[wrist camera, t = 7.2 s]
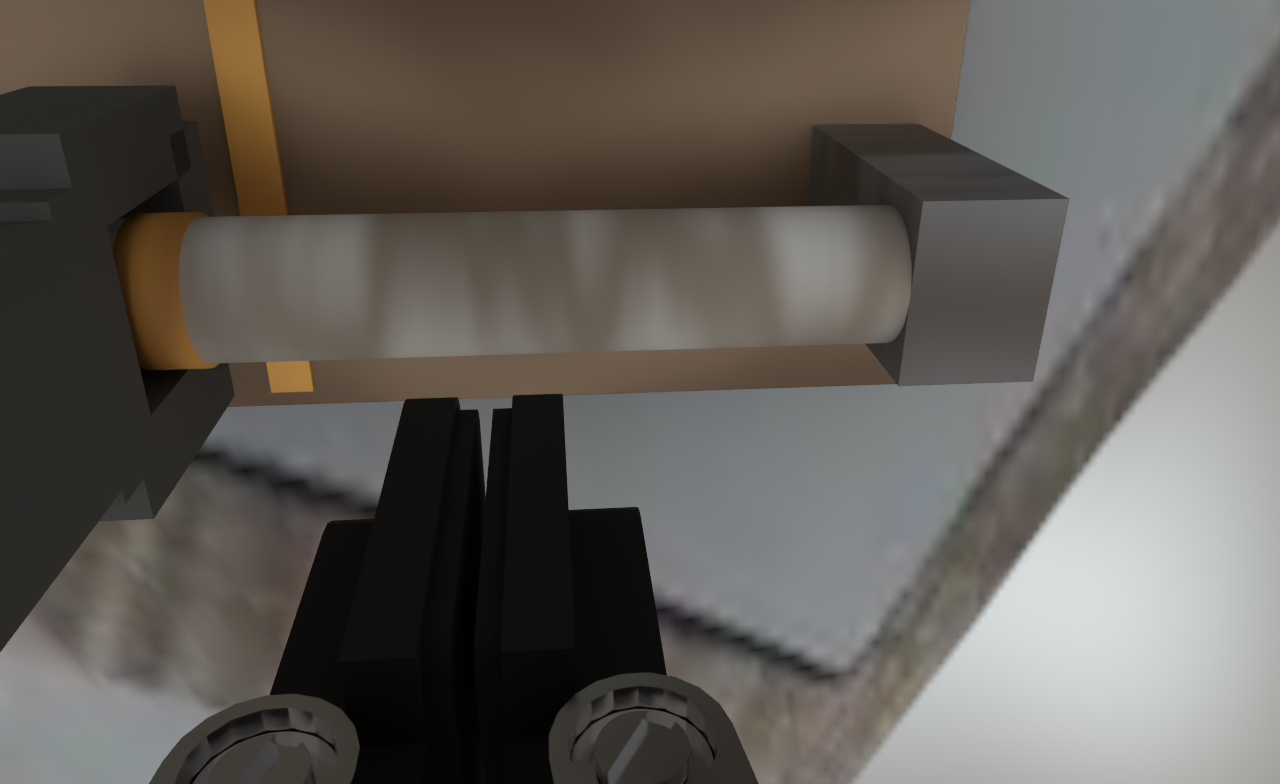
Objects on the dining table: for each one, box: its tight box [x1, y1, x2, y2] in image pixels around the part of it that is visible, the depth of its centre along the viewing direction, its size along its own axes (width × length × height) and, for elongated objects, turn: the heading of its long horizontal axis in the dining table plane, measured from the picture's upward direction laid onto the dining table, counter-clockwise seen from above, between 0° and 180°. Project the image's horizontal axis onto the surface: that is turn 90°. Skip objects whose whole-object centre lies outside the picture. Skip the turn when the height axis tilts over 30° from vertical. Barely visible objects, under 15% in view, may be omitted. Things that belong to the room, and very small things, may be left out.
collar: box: [0, 85, 235, 652], centre depth 17 cm, size 7×3×13 cm, turn 0°
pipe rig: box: [0, 0, 1069, 407], centre depth 23 cm, size 12×30×10 cm, turn 90°
